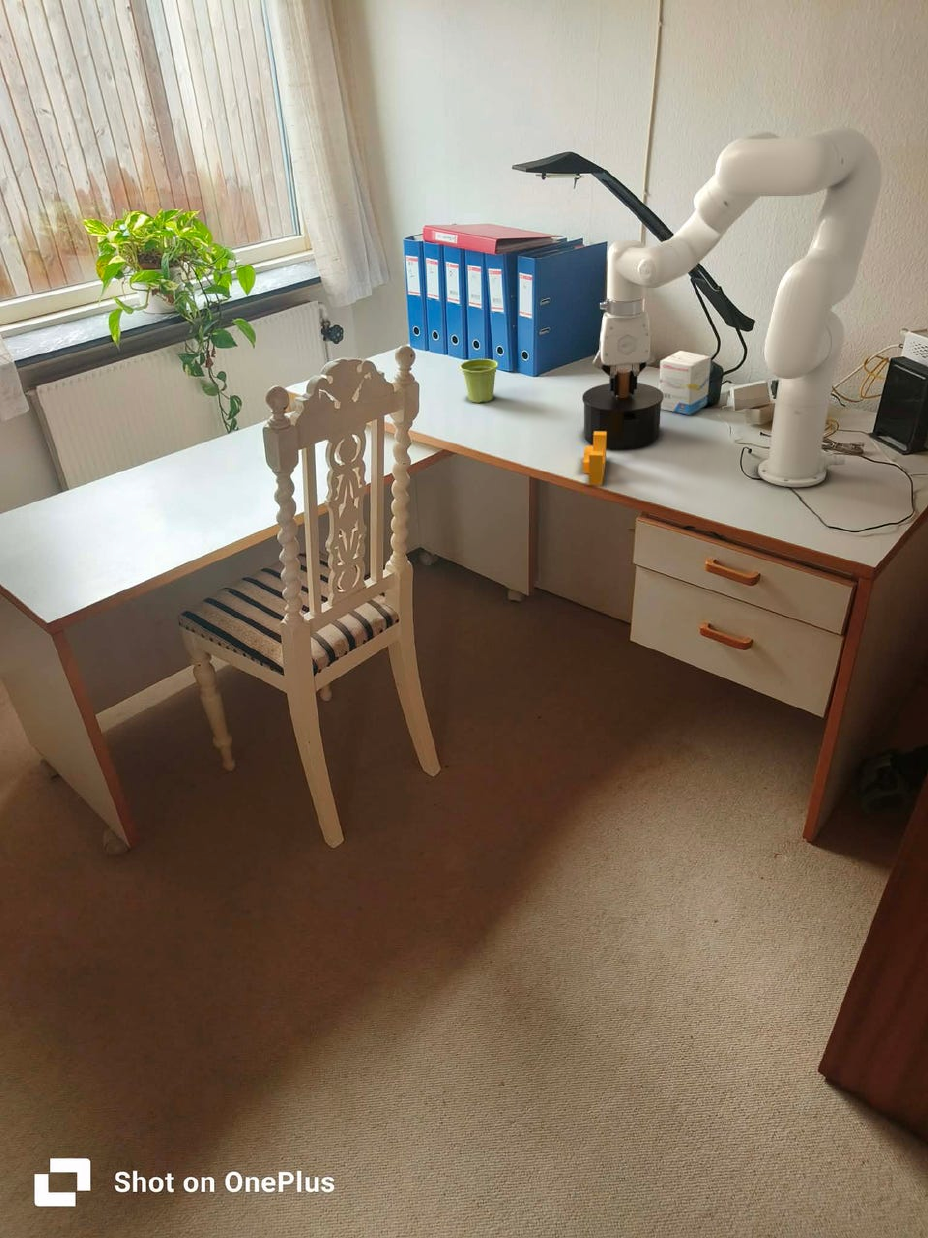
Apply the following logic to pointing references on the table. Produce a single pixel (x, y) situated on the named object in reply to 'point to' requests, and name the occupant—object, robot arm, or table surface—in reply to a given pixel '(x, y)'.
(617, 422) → the pot
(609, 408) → the lid
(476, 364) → the plant pot
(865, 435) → the table surface
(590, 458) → the orange stepped block
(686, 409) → the ink box
